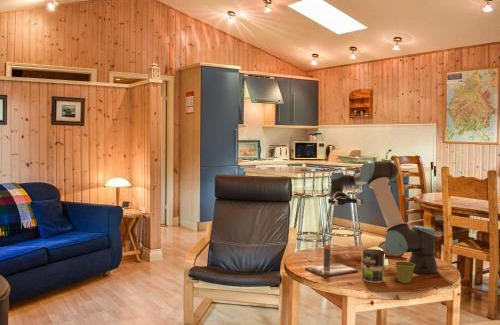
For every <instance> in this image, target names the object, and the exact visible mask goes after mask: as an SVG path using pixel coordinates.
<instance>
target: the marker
mask: <svg viewBox="0 0 500 325" xmlns="http://www.w3.org/2000/svg"><path fill="white" fill-rule="evenodd" d="M331 248H332V246H331V244H329V243H324V244H323V265H324V270H325V271H329V270H330V264H331Z"/></svg>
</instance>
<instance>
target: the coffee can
mask: <svg viewBox="0 0 500 325" xmlns="http://www.w3.org/2000/svg"><path fill="white" fill-rule="evenodd" d="M362 253H363V254H362V277H361V278H362V281H364V282H367V283H371V284H376V283H377V284H380V283H383V282H384V281H385V280H384V276H385V275H384V270H385V256H384V254H385V252H384V251H381V250H379V249H375V248H374V249H373V248H368V249H363V250H362Z"/></svg>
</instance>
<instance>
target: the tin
mask: <svg viewBox="0 0 500 325" xmlns="http://www.w3.org/2000/svg"><path fill="white" fill-rule="evenodd" d="M379 247H380V248H382V249H383V250H384V252H385V255H386V256H385V257H393V258H401V257H402V256H403V255H404V254H405V253H394V252H392V251H391V250H389V248H388V247H387V245H386V242H385V241H384V240H383V241H381V242H380V243H379V244H378V248H379Z"/></svg>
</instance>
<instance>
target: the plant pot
mask: <svg viewBox="0 0 500 325" xmlns="http://www.w3.org/2000/svg"><path fill="white" fill-rule="evenodd" d="M394 264H395V267H396V275H397V281H398V282H399V283H401V284H408V283H409V284H410V283H412V280H413V279H412V278H413V273H414V272H413V269H414V267H415V264H414V263H411V262H409V261H396V262H395V263H394Z"/></svg>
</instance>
